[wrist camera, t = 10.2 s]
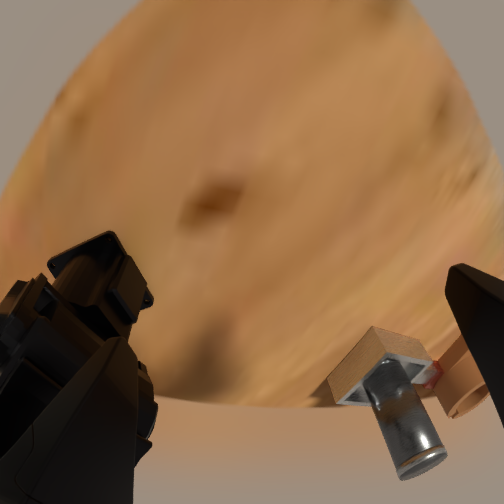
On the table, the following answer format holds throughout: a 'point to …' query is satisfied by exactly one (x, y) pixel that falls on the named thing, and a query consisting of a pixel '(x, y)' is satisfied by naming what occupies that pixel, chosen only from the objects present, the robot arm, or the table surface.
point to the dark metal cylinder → (403, 421)
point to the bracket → (459, 381)
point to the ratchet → (375, 354)
